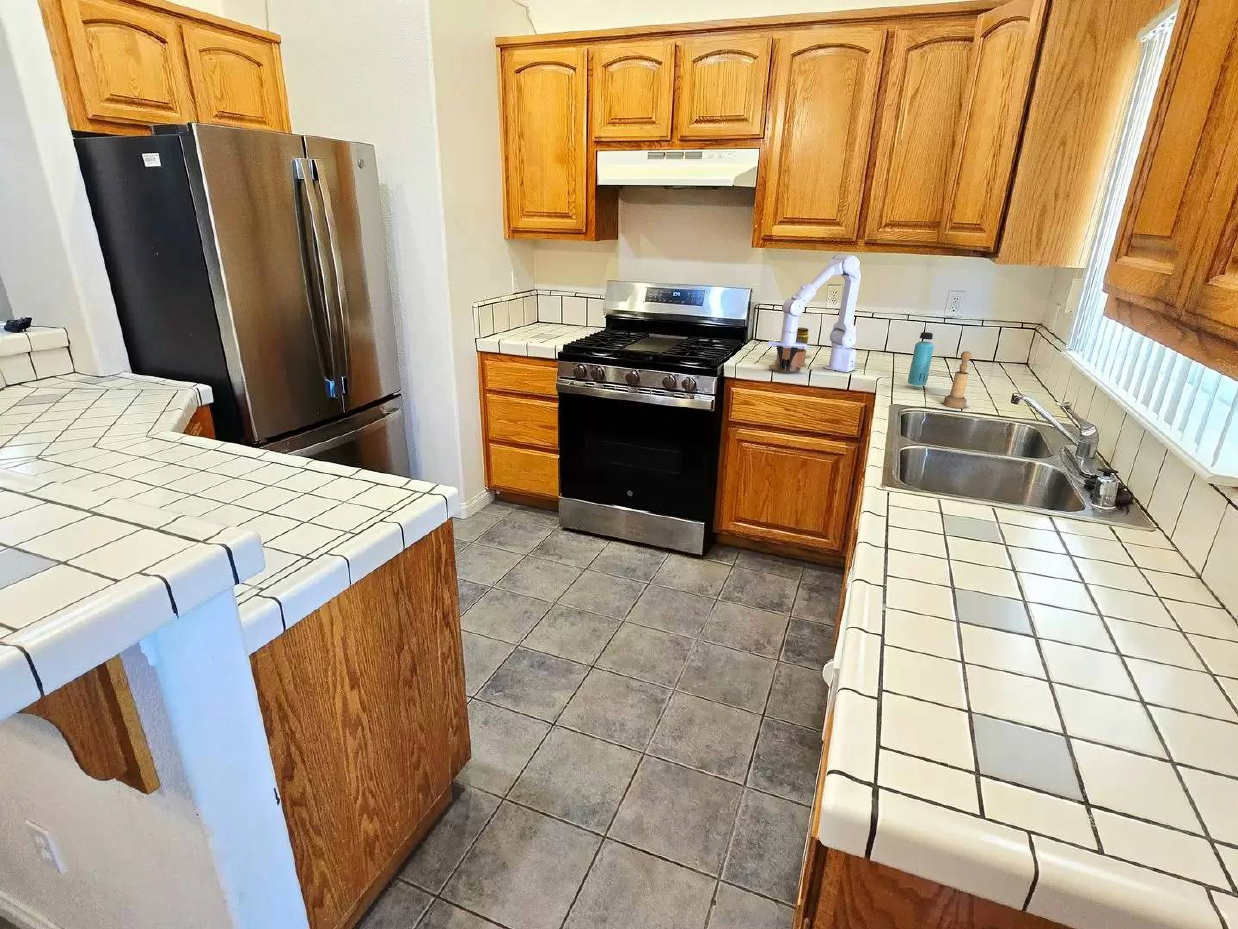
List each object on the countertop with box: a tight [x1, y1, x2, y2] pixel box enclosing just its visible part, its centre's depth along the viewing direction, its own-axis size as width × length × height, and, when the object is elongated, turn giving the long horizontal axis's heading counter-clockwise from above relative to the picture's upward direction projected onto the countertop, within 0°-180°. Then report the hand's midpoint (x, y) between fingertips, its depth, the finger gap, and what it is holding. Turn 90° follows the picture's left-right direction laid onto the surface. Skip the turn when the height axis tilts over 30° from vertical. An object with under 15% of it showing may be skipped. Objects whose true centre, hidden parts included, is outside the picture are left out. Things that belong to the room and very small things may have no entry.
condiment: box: [792, 327, 810, 358], centre depth 278 cm, size 7×8×12 cm
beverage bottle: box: [907, 331, 935, 387], centre depth 232 cm, size 6×7×20 cm
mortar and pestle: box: [943, 351, 972, 409], centre depth 212 cm, size 7×6×18 cm
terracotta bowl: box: [775, 347, 807, 368], centre depth 265 cm, size 11×11×6 cm
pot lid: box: [768, 358, 801, 374], centre depth 253 cm, size 12×12×4 cm
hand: (784, 366), depth 253 cm, fingers closed on pot lid, 2 cm apart
